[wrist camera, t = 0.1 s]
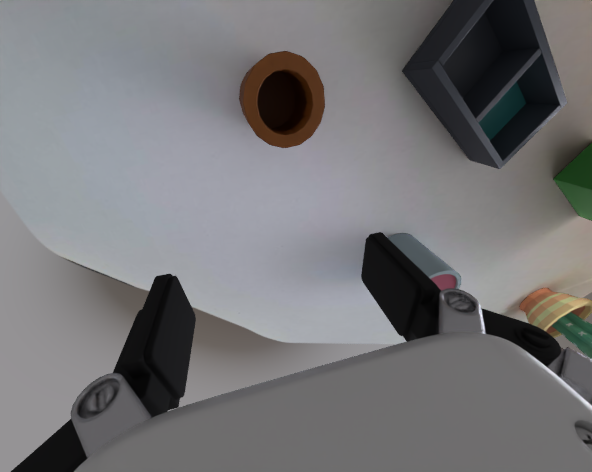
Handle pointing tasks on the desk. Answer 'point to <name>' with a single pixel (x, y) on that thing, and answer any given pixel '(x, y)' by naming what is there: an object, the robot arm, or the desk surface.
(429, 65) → the divided tray
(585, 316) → the potted cactus
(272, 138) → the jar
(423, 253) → the mug
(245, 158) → the desk surface
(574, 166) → the hardback book
